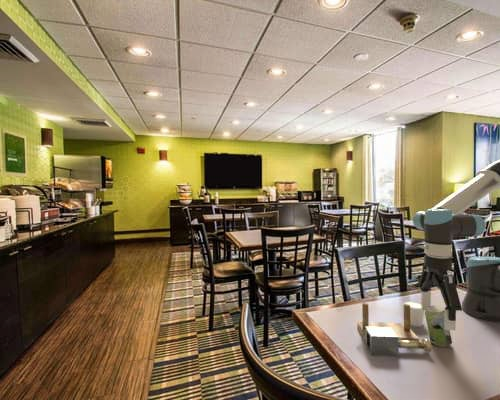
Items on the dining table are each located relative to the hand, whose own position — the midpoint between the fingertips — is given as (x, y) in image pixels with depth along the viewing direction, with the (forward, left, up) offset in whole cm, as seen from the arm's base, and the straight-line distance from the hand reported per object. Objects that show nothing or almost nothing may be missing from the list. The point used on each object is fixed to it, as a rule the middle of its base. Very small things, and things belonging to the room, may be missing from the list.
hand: (437, 319), depth 87 cm
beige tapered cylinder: (+1, -14, -9) cm, 17 cm away
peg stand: (+15, -4, -8) cm, 17 cm away
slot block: (+20, +5, -8) cm, 22 cm away
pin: (+11, +5, -8) cm, 14 cm away
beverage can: (0, 0, -9) cm, 9 cm away
